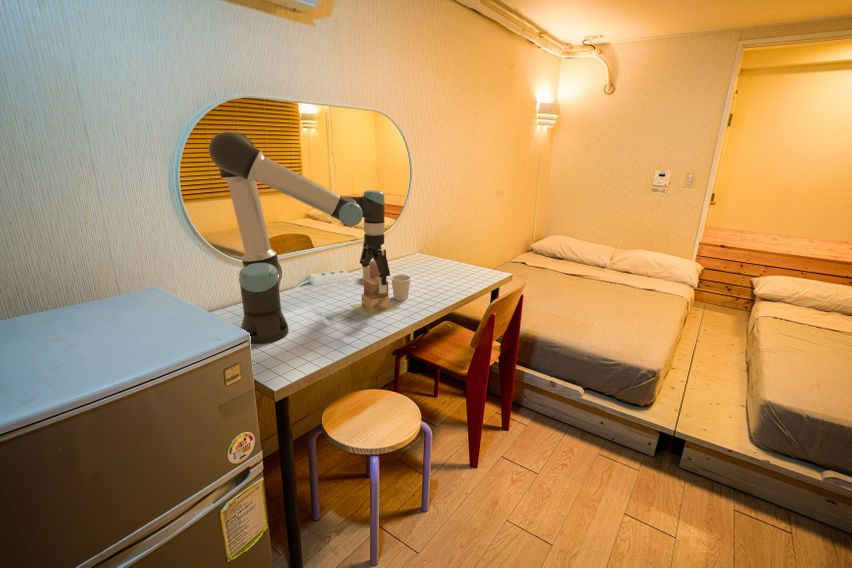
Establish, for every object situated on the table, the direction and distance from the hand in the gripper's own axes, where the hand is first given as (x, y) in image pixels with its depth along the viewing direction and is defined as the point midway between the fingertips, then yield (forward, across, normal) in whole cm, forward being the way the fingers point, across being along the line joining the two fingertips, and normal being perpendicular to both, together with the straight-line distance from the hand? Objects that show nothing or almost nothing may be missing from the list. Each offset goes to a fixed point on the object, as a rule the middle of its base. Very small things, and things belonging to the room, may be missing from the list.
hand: (374, 287), depth 160 cm
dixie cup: (+9, +4, -14) cm, 18 cm away
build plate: (+9, 0, 0) cm, 9 cm away
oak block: (+8, 0, 0) cm, 8 cm away
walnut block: (+3, 0, -1) cm, 3 cm away
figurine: (+9, +35, -18) cm, 41 cm away
